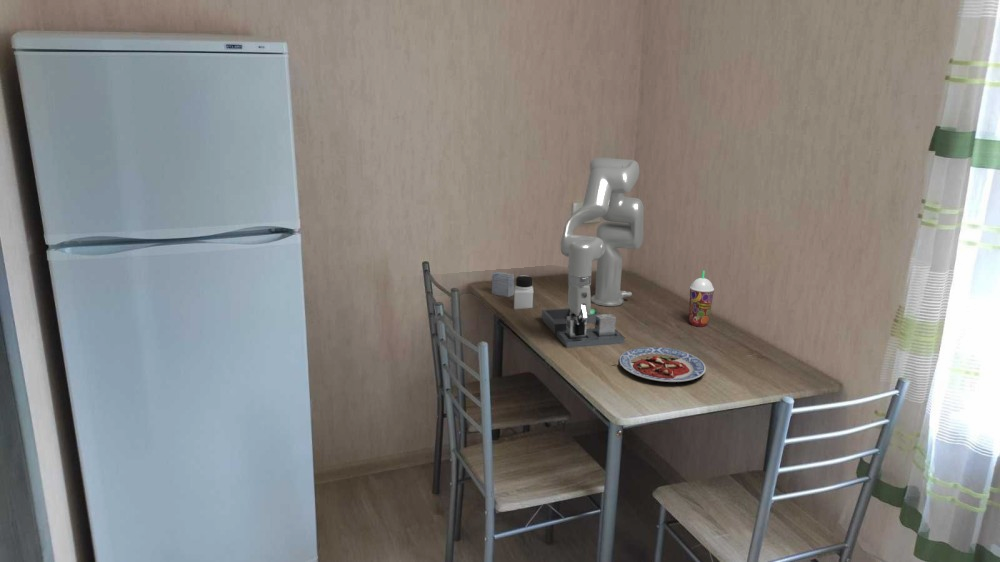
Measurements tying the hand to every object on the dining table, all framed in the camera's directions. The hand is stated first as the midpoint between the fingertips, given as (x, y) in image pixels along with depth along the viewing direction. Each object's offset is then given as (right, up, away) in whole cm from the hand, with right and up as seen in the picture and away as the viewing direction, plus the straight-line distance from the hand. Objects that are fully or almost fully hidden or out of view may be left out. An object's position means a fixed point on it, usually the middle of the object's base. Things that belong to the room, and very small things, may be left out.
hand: (576, 331), depth 237 cm
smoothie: (+46, +1, +22) cm, 51 cm away
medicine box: (-24, +11, +50) cm, 57 cm away
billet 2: (+10, -3, +3) cm, 11 cm away
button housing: (+7, +2, +21) cm, 22 cm away
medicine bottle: (-16, +7, +36) cm, 40 cm away
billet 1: (0, -3, +1) cm, 3 cm away
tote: (-3, 0, +15) cm, 16 cm away
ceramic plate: (+24, -11, -17) cm, 31 cm away
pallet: (+5, -4, +2) cm, 7 cm away
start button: (+7, +3, +21) cm, 22 cm away
